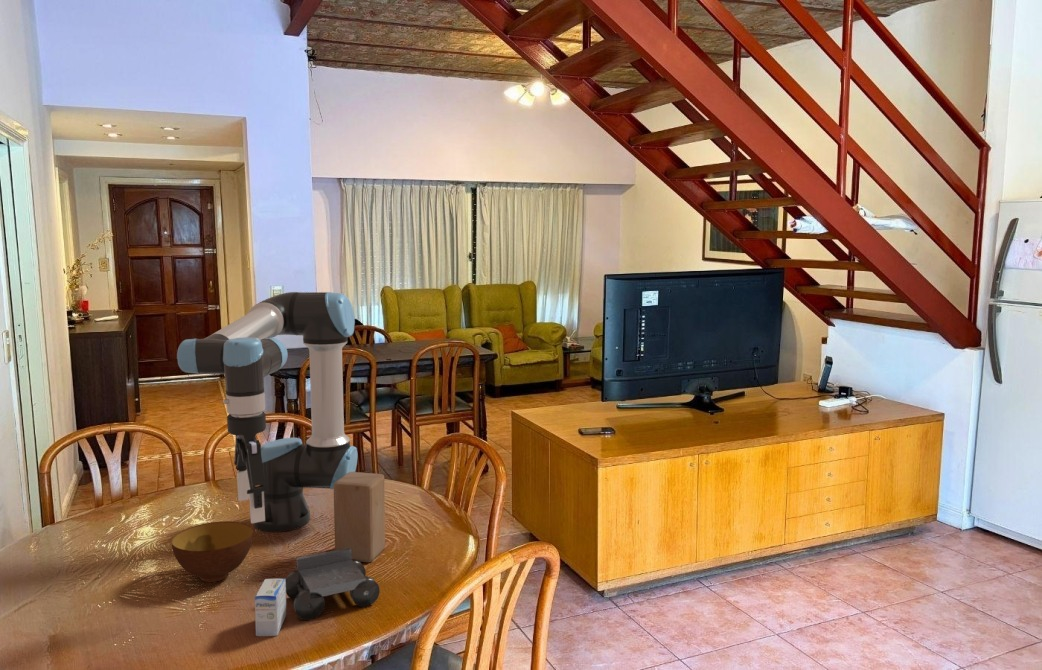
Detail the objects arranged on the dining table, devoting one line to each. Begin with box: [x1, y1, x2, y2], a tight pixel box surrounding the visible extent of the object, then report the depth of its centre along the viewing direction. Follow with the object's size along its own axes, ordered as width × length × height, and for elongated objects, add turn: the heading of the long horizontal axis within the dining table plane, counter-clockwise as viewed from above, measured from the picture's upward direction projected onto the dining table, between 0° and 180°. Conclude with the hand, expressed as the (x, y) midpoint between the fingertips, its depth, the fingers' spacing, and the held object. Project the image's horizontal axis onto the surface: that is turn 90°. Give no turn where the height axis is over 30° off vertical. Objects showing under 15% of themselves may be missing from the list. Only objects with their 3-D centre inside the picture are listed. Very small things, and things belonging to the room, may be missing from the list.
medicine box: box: [254, 578, 287, 637], centre depth 153 cm, size 8×4×9 cm, turn 5°
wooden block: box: [333, 471, 386, 563], centre depth 188 cm, size 10×10×20 cm
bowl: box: [171, 520, 254, 583], centre depth 175 cm, size 18×18×10 cm
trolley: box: [284, 547, 381, 621], centre depth 164 cm, size 12×18×9 cm, turn 119°
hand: (251, 510), depth 158 cm, fingers open, 13 cm apart
